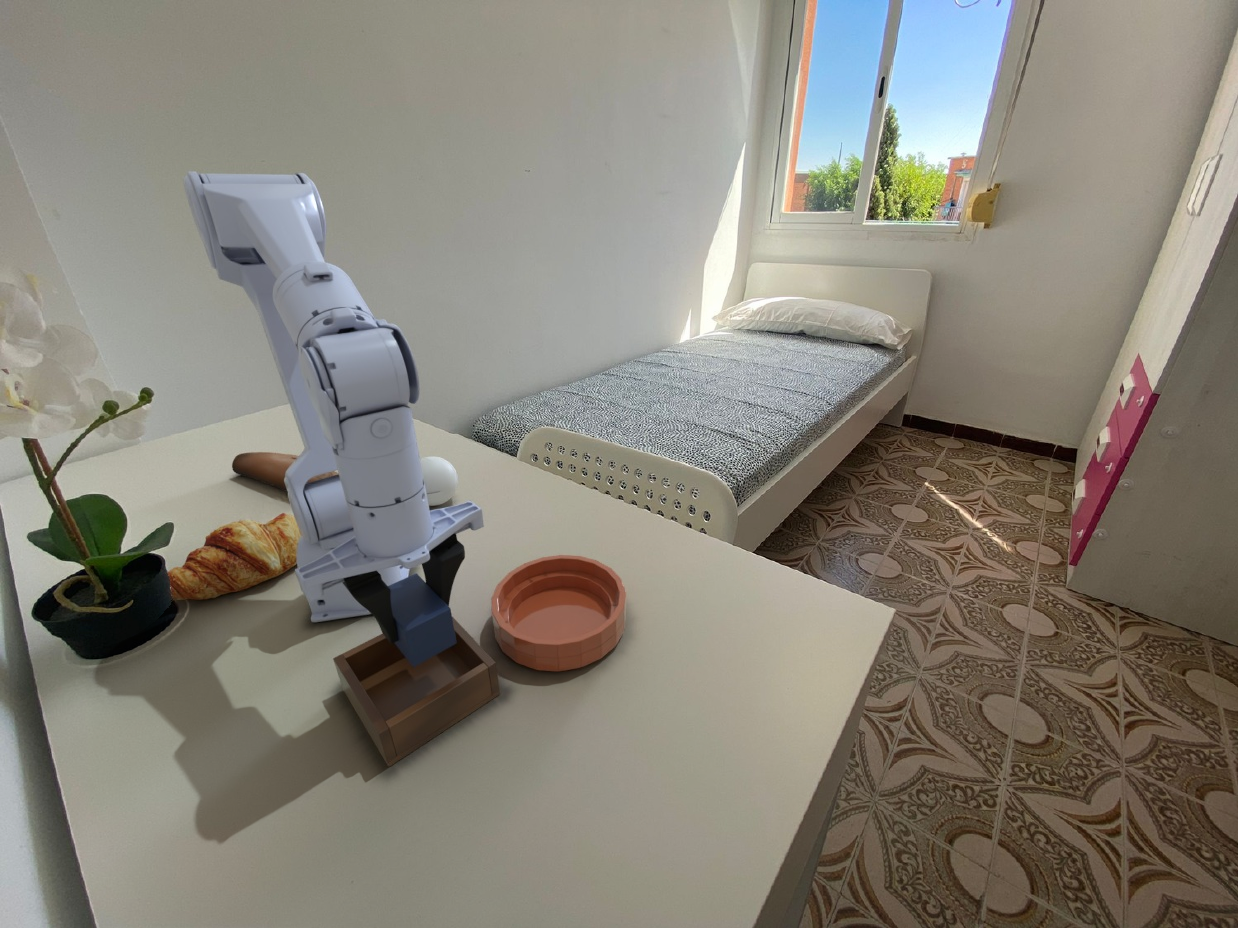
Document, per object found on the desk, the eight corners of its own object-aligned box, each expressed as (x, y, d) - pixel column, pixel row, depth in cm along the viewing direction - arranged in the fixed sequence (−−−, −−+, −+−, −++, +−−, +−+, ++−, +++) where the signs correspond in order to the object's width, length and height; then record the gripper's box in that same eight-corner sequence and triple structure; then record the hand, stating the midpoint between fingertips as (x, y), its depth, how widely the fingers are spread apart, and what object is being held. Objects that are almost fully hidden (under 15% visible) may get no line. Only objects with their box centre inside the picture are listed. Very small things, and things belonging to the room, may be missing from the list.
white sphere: (441, 485, 87) (434, 443, 84) (471, 500, 83) (465, 457, 79) (383, 511, 80) (373, 466, 77) (412, 529, 76) (403, 482, 72)
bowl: (497, 686, 52) (493, 655, 50) (493, 591, 64) (490, 564, 62) (639, 660, 55) (640, 630, 53) (610, 574, 67) (610, 547, 65)
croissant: (339, 544, 78) (316, 492, 77) (365, 538, 71) (339, 482, 70) (159, 623, 63) (127, 561, 62) (168, 626, 56) (133, 556, 55)
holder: (388, 767, 45) (378, 733, 43) (343, 689, 52) (332, 658, 50) (500, 694, 51) (496, 662, 49) (446, 633, 58) (440, 603, 56)
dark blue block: (413, 667, 45) (404, 631, 44) (381, 626, 50) (372, 592, 48) (457, 643, 48) (450, 608, 46) (423, 606, 52) (416, 572, 50)
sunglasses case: (351, 477, 88) (324, 453, 83) (323, 513, 85) (293, 491, 80) (282, 454, 96) (252, 431, 90) (254, 487, 93) (222, 465, 87)
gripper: (298, 549, 35) (346, 697, 41) (495, 476, 44) (510, 606, 50) (269, 507, 39) (316, 646, 46) (452, 448, 48) (471, 571, 54)
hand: (415, 623), depth 48 cm, fingers closed on dark blue block, 4 cm apart
